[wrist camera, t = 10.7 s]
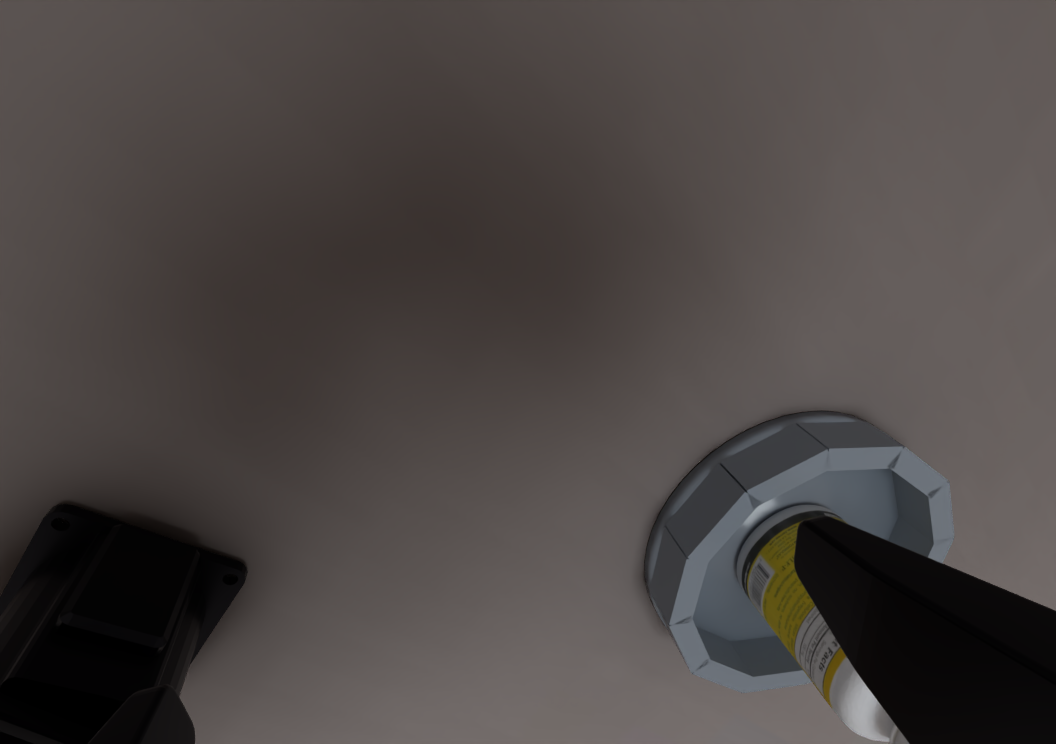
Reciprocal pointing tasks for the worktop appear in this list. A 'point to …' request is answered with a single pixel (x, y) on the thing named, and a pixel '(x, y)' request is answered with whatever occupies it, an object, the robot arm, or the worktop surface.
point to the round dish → (755, 495)
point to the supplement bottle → (807, 622)
